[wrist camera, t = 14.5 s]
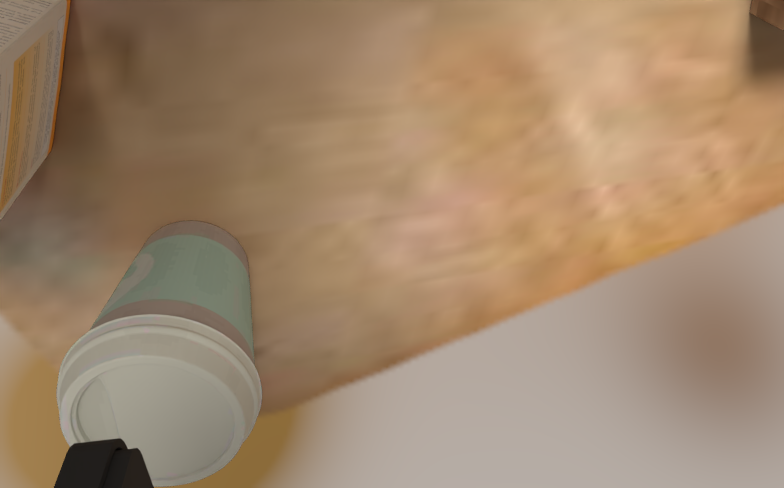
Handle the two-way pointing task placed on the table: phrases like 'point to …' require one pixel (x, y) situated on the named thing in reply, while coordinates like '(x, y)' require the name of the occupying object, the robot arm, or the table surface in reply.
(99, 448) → the robot arm
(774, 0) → the walnut crate
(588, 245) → the table surface
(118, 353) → the coffee cup
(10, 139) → the supplement box
